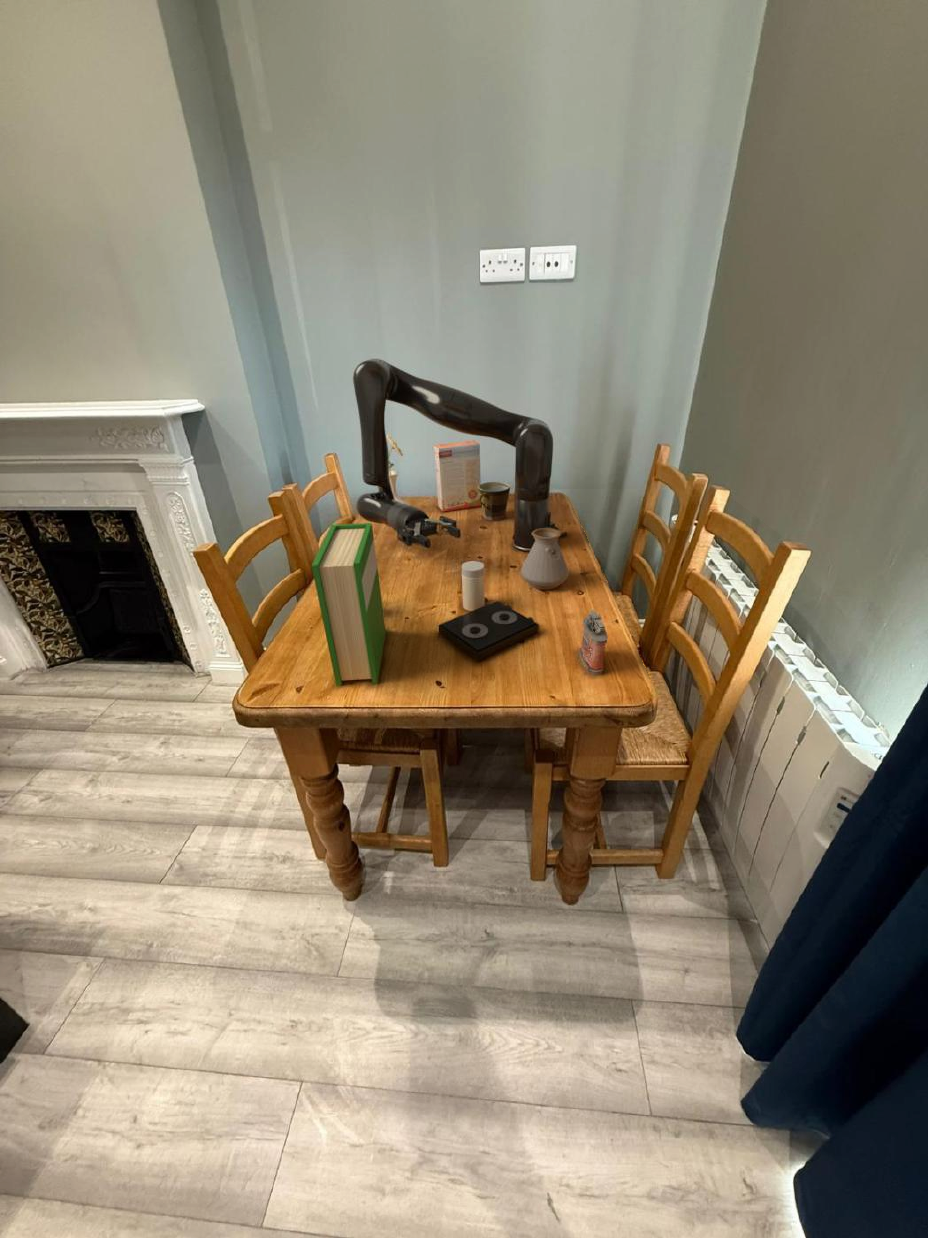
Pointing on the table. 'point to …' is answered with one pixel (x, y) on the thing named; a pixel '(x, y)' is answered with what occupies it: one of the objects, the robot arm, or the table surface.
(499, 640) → the stove
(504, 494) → the ceramic cup
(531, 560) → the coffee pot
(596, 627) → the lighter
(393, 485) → the flower in vase
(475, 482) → the cracker box
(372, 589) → the hardback book
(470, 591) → the salt shaker
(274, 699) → the table surface
